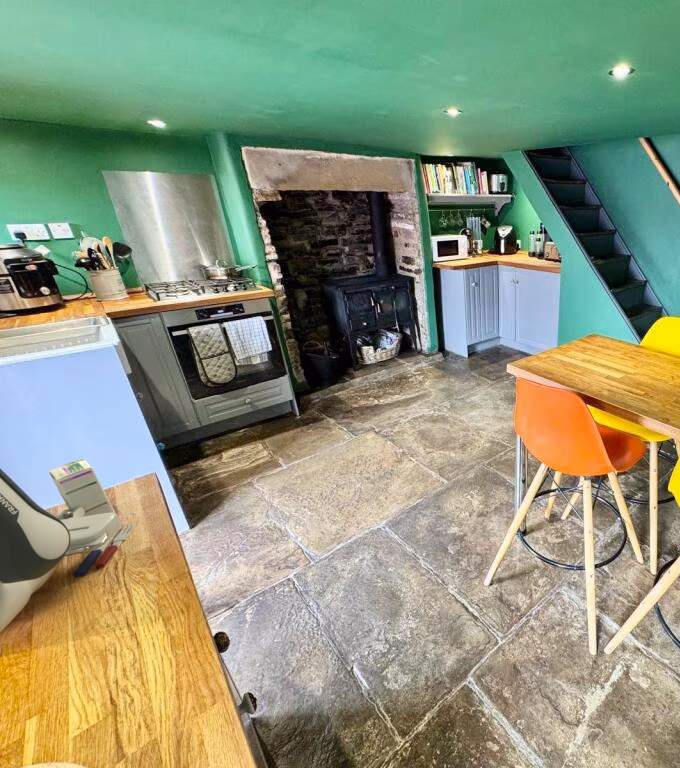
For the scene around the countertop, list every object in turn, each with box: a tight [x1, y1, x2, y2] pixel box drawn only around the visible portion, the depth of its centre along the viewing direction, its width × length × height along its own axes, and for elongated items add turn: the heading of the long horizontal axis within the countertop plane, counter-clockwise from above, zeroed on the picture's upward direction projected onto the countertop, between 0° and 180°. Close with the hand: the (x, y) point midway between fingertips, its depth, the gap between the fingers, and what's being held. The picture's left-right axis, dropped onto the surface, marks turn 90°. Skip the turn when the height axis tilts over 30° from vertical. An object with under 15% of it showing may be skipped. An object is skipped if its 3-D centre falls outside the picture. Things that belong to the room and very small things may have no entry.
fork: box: [93, 523, 137, 569], centre depth 84 cm, size 2×12×1 cm, turn 18°
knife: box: [72, 524, 124, 579], centre depth 83 cm, size 2×14×1 cm, turn 18°
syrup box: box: [48, 458, 116, 517], centre depth 88 cm, size 6×6×14 cm
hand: (75, 511), depth 85 cm, fingers closed
